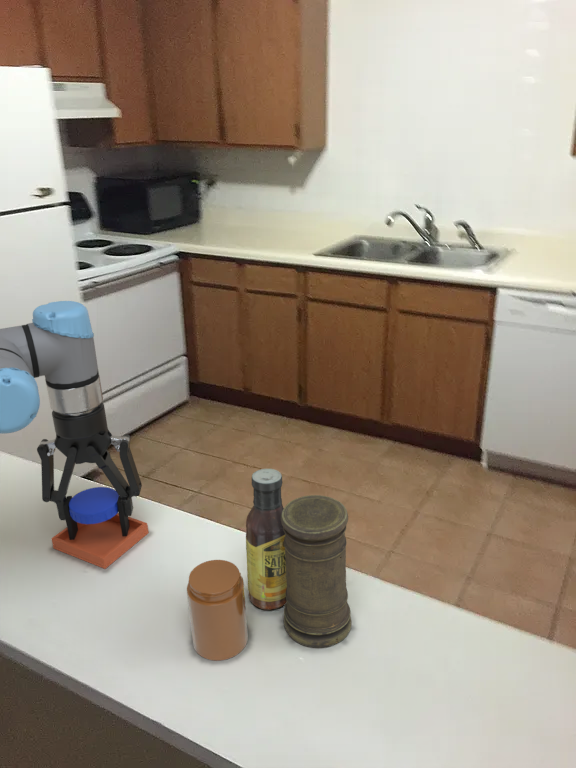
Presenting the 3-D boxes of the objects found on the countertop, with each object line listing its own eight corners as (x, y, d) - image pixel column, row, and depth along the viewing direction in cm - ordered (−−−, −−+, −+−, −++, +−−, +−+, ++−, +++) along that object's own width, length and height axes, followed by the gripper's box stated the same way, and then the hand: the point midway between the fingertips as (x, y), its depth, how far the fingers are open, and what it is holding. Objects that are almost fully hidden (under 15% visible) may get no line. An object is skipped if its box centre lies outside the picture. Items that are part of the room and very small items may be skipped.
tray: (53, 548, 107) (51, 538, 106) (98, 515, 115) (96, 505, 115) (105, 569, 102) (103, 558, 101) (148, 533, 110) (147, 522, 109)
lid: (124, 495, 110) (123, 485, 109) (116, 523, 103) (114, 512, 102) (76, 497, 110) (75, 488, 109) (64, 525, 103) (62, 515, 102)
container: (361, 639, 87) (362, 525, 80) (295, 656, 85) (290, 540, 78) (337, 594, 95) (336, 486, 88) (276, 609, 93) (270, 499, 86)
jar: (191, 662, 85) (183, 597, 80) (194, 621, 91) (187, 559, 87) (248, 658, 85) (243, 593, 81) (247, 617, 92) (242, 555, 87)
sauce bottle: (271, 619, 91) (263, 495, 83) (239, 598, 95) (229, 479, 87) (302, 594, 96) (298, 474, 88) (271, 575, 99) (264, 459, 92)
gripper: (150, 391, 103) (166, 515, 112) (15, 399, 102) (42, 523, 111) (143, 412, 96) (161, 543, 105) (-2, 421, 95) (29, 551, 104)
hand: (100, 532), depth 108 cm, fingers closed on lid, 8 cm apart
